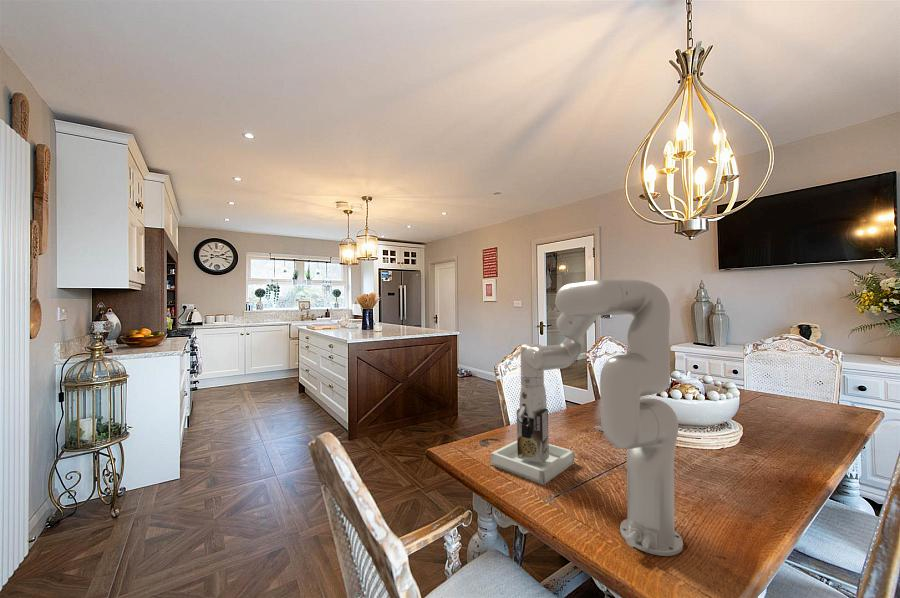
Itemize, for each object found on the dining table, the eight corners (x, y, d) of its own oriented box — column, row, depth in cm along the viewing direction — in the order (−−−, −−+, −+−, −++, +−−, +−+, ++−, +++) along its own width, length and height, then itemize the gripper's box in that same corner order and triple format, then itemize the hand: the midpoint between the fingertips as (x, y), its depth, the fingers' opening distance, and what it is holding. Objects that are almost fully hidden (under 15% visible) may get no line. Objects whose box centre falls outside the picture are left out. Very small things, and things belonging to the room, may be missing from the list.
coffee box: (549, 457, 123) (548, 408, 123) (543, 464, 117) (542, 413, 117) (523, 451, 128) (523, 405, 128) (516, 458, 122) (516, 409, 122)
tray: (543, 485, 108) (542, 471, 109) (491, 465, 122) (490, 453, 122) (574, 463, 123) (574, 451, 123) (524, 447, 137) (524, 436, 137)
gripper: (527, 387, 114) (528, 444, 114) (555, 378, 126) (555, 430, 126) (507, 383, 119) (508, 438, 119) (536, 375, 132) (536, 425, 131)
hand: (532, 434), depth 122 cm, fingers closed on coffee box, 7 cm apart
